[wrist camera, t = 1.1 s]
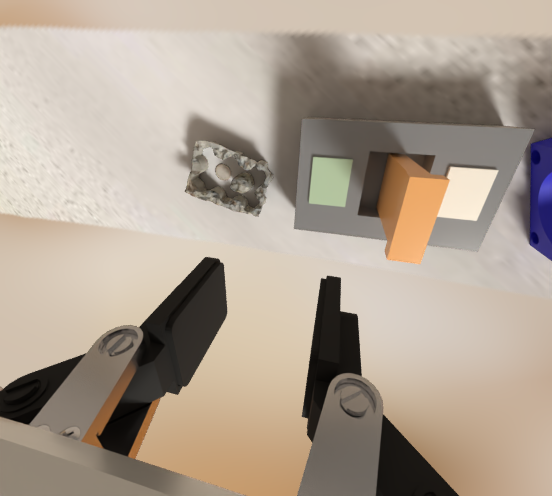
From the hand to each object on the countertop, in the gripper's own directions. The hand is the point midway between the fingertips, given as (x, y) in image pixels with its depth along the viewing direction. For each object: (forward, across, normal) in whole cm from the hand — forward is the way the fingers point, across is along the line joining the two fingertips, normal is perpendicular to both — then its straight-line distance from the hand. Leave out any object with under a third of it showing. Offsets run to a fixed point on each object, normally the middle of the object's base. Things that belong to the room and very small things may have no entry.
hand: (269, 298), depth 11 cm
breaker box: (+25, -8, 0) cm, 27 cm away
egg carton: (+26, +11, +1) cm, 28 cm away
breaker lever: (+23, -8, 0) cm, 24 cm away
